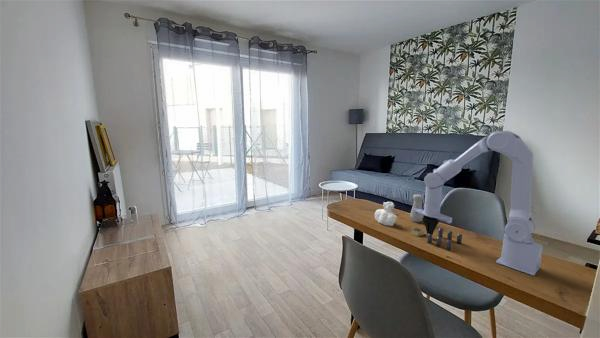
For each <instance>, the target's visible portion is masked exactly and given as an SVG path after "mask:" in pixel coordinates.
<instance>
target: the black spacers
mask: <svg viewBox="0 0 600 338" xmlns="http://www.w3.org/2000/svg"><path fill="white" fill-rule="evenodd" d="M443 234H444V228H443V227H439V228H438V233H437V237H436V245H435V246H436V247H439V248H441V247H442V242H443V241H442V240H443V236H444V235H443ZM426 240H427V241H426V243H427V244H432V243H433V235H432V234H430V233H428V235H427V238H426ZM462 241H463V233H457V237H456V243H457V244H459V245H462V243H463V242H462ZM452 243H453V231H452V230H448V231H447V237H446V246H445V249H446V251H449V252H450V251H452Z"/></svg>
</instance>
